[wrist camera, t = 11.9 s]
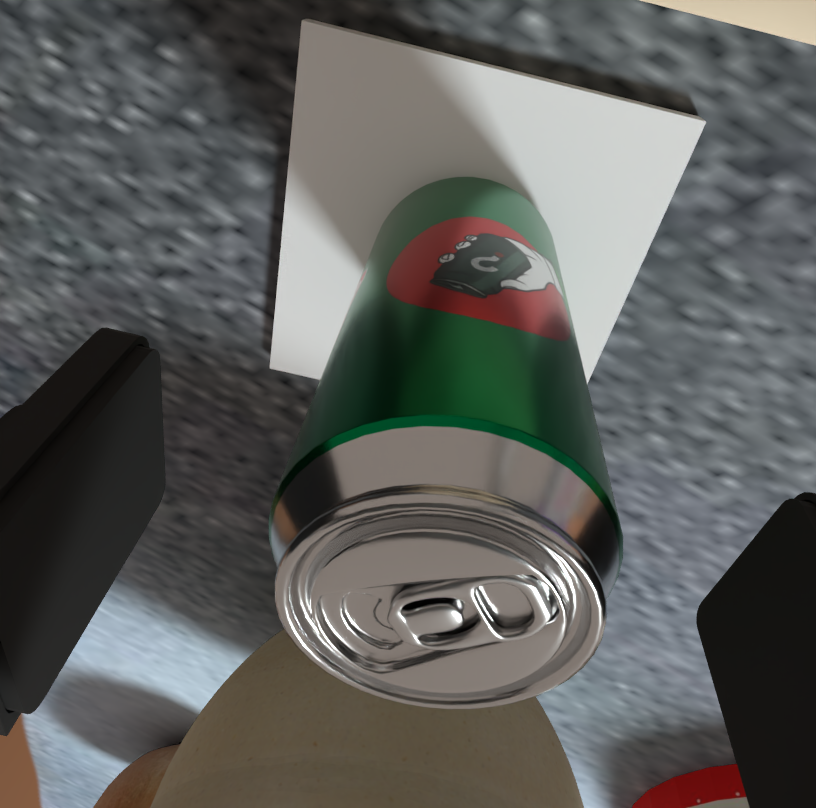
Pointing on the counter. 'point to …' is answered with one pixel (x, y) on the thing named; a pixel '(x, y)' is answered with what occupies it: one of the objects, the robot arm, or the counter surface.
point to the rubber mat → (461, 174)
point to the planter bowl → (358, 747)
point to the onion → (138, 781)
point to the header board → (756, 15)
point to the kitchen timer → (699, 790)
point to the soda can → (450, 469)
